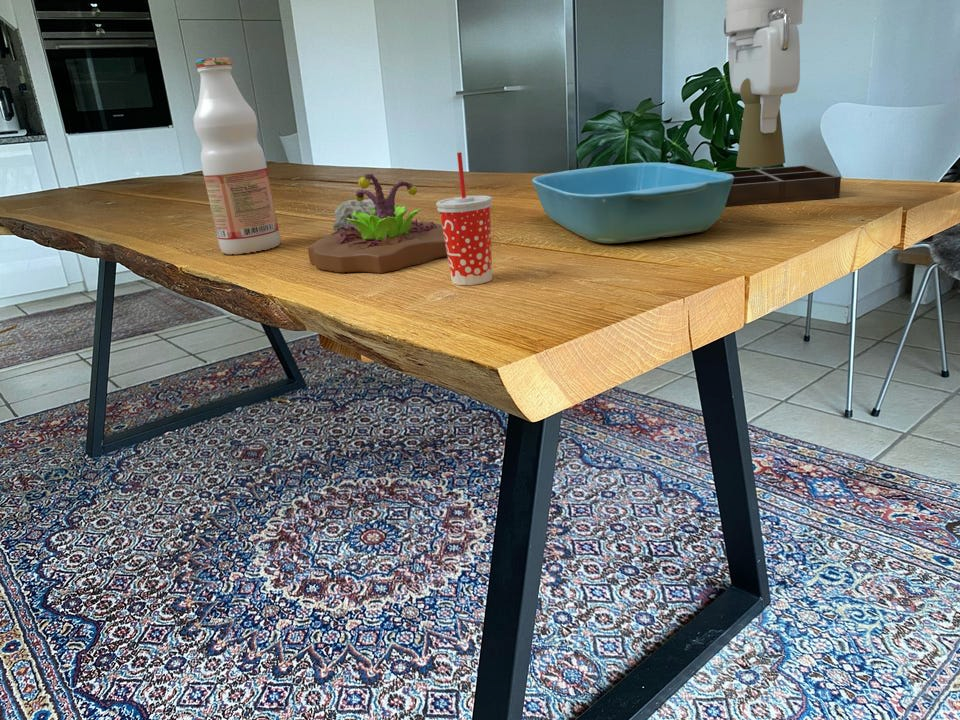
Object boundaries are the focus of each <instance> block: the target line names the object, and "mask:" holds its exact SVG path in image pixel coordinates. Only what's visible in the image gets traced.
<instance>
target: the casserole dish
mask: <svg viewBox="0 0 960 720" xmlns="http://www.w3.org/2000/svg"><path fill="white" fill-rule="evenodd" d="M722 172H723V171H716V170H711V169H706V168H699V167H694V166H690V165H689V166H688V165H685V164H684V165H683V164H677V163H670V162H659V161H658V162H657V161H655V162H636V163H633V162H632V163H626V164H625V163H623V164H611V165H602V166H601V165H600V166H594V167H587V168H586V167H585V168H578V169H577V168H576V169H571V170H564V171H558V172H557V171H556V172H551V173H545V174H542V175H538V176H535V177H533V178H532V180H531V181H532V185H533V187H534V189H535V192H536V194H537V197H538V200H539V202H540V205H541V207H542V209H543V212H544V213H545V214H546V216H547V217H548V218H549V219H550V220H551V221H553V222H555V223H556V224H558V225H560V226H561V227H562V228H565V229H567V230H568V231H570V232H572V233H574V234H576V235H578V236H580V237H581V238H585V239H586V240H588V241H592V242H596V243H602V244H620V243H628V242H638V241H639V242H640V241H645V240H655V239H658V238H660V237H661V238H668V237H677V236H683V235H689V234H695V233H701V232H705V231H707V230H708V229H709V228H711V226H713V225H714V224H715V223H716V222H717V221H718V220H719V219H720V218H721V216H722V214H723V211H724V209H725V207H726V206H725V204H726V202H727V198H728V195H729V192H730V189H731V186H732V183H733V180H734V176H733V175H731V174H728V173H722Z"/></svg>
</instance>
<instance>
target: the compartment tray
mask: <svg viewBox="0 0 960 720" xmlns="http://www.w3.org/2000/svg"><path fill="white" fill-rule="evenodd" d="M721 172H722V173H728V174H731V175H733V176H734V180H733V183H732V186H731V189H730V192H729V195H728V198H727V202H726V204H725V207H739V206H750V205H763V204H777V203H790V202H791V203H792V202H803V201H804V202H805V201H816V200H828V199H839V198H840V194H841V181H842V176H840V175H837V174H834V173H831V172H828V171H825V170H822V169H820V168H816V167H813V166H811V165H807V164H805V165H804V164H803V165H794V166H793V165H792V166H779V167H769V168H756V169H744V170H733V171H732V170H730V171H721Z"/></svg>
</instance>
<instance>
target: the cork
mask: <svg viewBox="0 0 960 720" xmlns="http://www.w3.org/2000/svg"><path fill="white" fill-rule="evenodd" d="M739 95H740V99H741V101H742V102H743V104H744V106H743V114H742V121H741V127H740V129H741V130H740V135H739V142H738V149H737V157H736V164H735V167H737V168H745V169H746V168H748V169H749V168H752V169H753V168H766V167H774V166H779V165H780V166H781V165H783V164H784V165H785V164H786V155H785V146H784V137H783V126H782V119H781V118H782V116H781V109H780V108H781V107H780V108H779V111H778V115H777V125H776V131H775V132H773V133H761V132H760V131H759V118H760V116H761V104H760V95H754V94H752V92H751V84H750V80H749V78H747V79H745V80H744V81H743V83H742V84H741V88H740V94H739ZM783 95H784V94H781V98H782V97H783Z"/></svg>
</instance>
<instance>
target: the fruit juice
mask: <svg viewBox="0 0 960 720" xmlns="http://www.w3.org/2000/svg"><path fill="white" fill-rule="evenodd" d="M195 67H196V70H197V73H199V75H200V76H199V77H200V85H199V95H198V103H197V106H196V109H195V112H194V114H193V119H192V123H193V130H194V132H195V134H196V136H197V138H198V140H199V142H200V146H201V151H200V164H201V171H202V176H203V179H204V184H205V187H206V192H207V193H206V194H207V197H208V198H207V199H208V202H209V206H210V211H211V215H212V220H213V224H214V228H215V234H216V239H217V242H218V247H219V250H220V251H221V253H222V254H224V253H225V254H224V255H232V254H233V255H243V254H242V253H247V254H251V253H250V252H254V253H257V252H256V251H260V252H262V251H261V250H265V249H268V250H270V249H269V248H272V249H274V248H273V247H275V248H277V247H278V246H280V245H281V234H280V228H279V224H278V218H277V213H276V209H275V202H274V196H273V193H272V187H271V182H270V177H269V171H268V165H267V161H266V156H265V153H264V150H263V148H262V147H261V145H260V143H259V141H258V119H257V116H256V113H255V111H254V109H253V108H252V107H251V106H250V105H249V104H248V102H247V101H246V100H245V97H243V94H242V93H241V91H240V89H239V88H238V86H237V83H236V82H235V80H234V78H233V75H232V70H233V68H232V62H231V59H230V58H229V57H211V58H210V57H209V58H201V59H197V60H195ZM276 246H277V247H276ZM265 251H266V250H265Z"/></svg>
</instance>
